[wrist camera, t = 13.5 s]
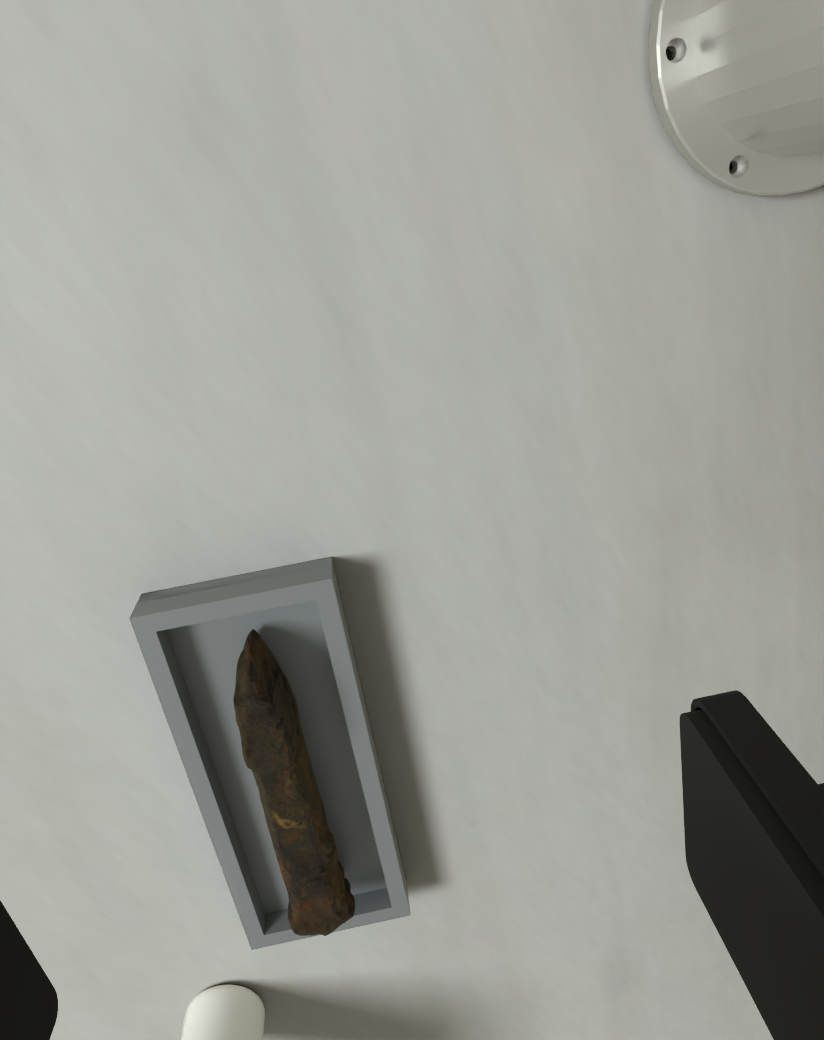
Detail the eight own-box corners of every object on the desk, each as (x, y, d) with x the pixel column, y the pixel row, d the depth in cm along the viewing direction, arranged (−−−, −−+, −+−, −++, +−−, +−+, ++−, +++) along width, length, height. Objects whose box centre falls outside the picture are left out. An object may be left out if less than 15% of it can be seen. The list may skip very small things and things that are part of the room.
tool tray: (331, 556, 38) (331, 578, 35) (406, 881, 47) (410, 915, 45) (141, 594, 37) (129, 618, 35) (255, 914, 47) (251, 949, 44)
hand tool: (354, 876, 45) (357, 944, 41) (290, 888, 45) (287, 957, 40) (305, 615, 38) (303, 665, 33) (229, 627, 37) (217, 678, 33)
